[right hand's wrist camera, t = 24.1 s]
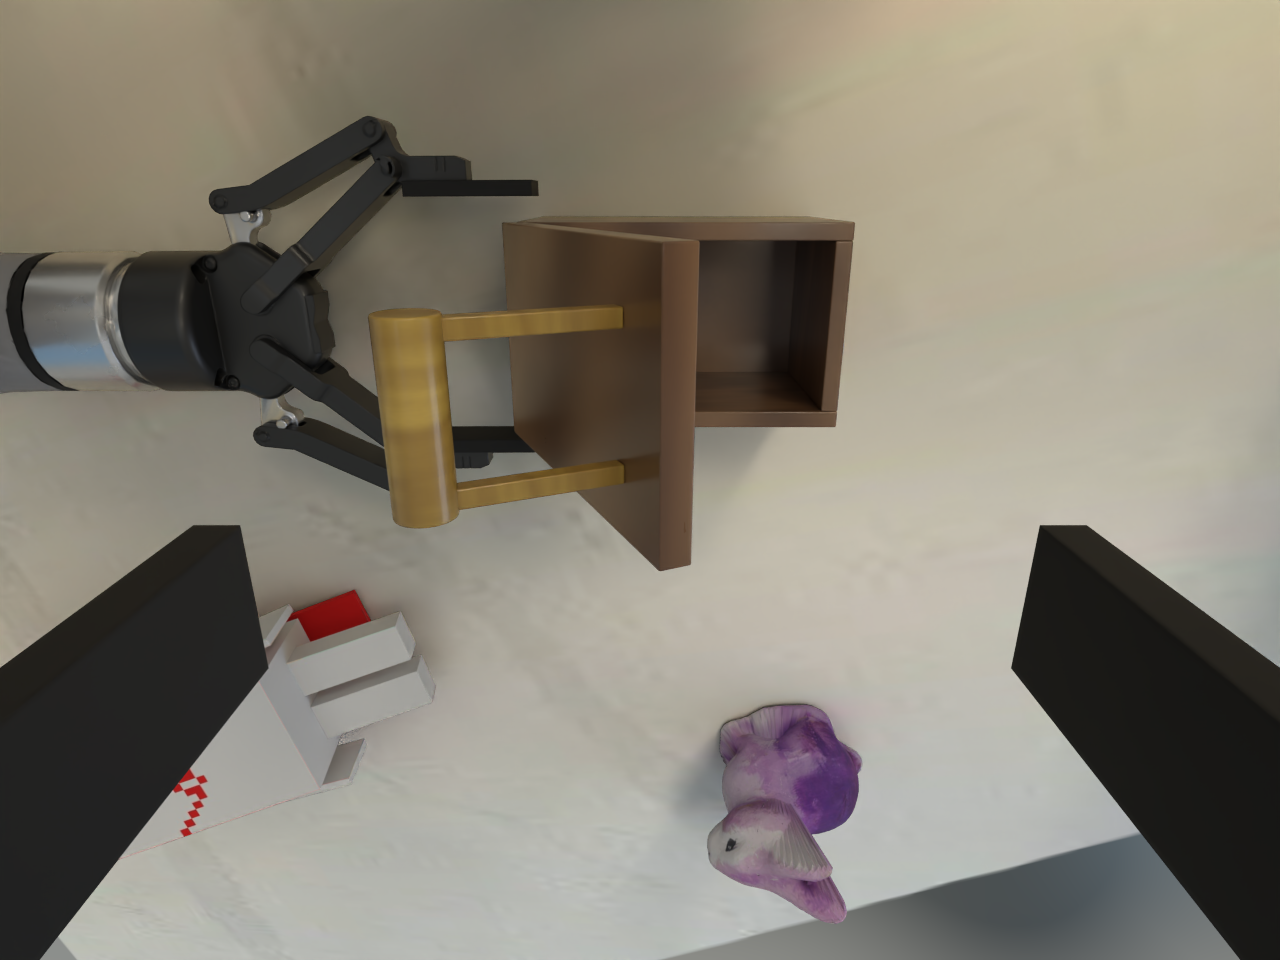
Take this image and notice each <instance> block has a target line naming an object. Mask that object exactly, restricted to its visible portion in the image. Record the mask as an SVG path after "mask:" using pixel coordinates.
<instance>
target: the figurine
mask: <svg viewBox="0 0 1280 960" xmlns="http://www.w3.org/2000/svg"><path fill="white" fill-rule="evenodd" d="M720 738H721V740H720V741H721V742H720V744H721V745H720V753H721V757H722V758H723V761H724V762H725V763H726V764H727V766H726V768H725V770H724V773H723V779H722V792H723V797H724V800H725V804H726V807H727V810H728V815H727V816H726V817H725V818H724V819H723V820H722V821H721V822H720V823H718V824H717V825H716V826H715V827H714V828H713V829H712V831H711V832H710V833H709V836H708V842H707V848H708V853H709V860H710V863H711V864H712V866H713V867H714V868H715V869H717V870H719V871H720V872H722V873H723V874H725V875H726V876H728V877H730V878H731V879H733V880H735V881H737V882H739V883H742V884H744V885H748V886H752V887H757V888H761V889H765V890H769V891H771V892H774V893H775V894H777V895H779V896H781V897H782V898H784V899H786V900H787V901H789V902H791V903H792V904H794V905H795V906H796V907H798V908H799V909H801V910H803V911H805V912H806V913H808V914H810V915H811V916H813V917H815V918H817V919H819V920H820V921H824V922H827V923H834V924H837V923H840V922H842V921H843V920H844V919H845V917H846V913H847V910H846V906H845V902H844V900H843V898H842V896H841V895H840V893H839V891H838V889H837V887H836V886H835V884H834V882H833V880H832V879H831V877H830V875H831V873H832V869H833V868H832V866H831V864H830V863H829V861H828V860H827V858H826V857H825V855H824V853H823V852H822V850H821V849H820V847H819V846H818V844H817V843H816V841H815V839H814V838H813V836H812V835H811V834H819V833H823V832H826V831H830V830H832V829H834V828H836V827H838V826H840V825H842V824H843V823H844V822H846V820H847V819H848V818H849V817H850V815H851V814H852V812H853V810H854V808H855V805H856V801H857V797H858V792H859V783H858V775H857V774H858V772H859V771H860V770H861V768H862V759H861V756H860V755H859V754H858V753H857V752H856V751H855V750H853V749H851V748H849V747H847V746H846V745H844V744H843V743H841V742H840V741H838V740H837V738H836V736H835V734H834V731H833V728H832V725H831V722H830V720H829V718H828V716H827V715H826V714H825V713H824V712H823V711H822V710H820V709H818V708H816V707H813V706H810V705H781V706H772V707H767V708H765V707H763V708H762V709H760V710H758V711H756V712H754V713H752V714H751V715H749V716H748V717H744V718H742V719H737V720H733V721H730V722H728V723H726V724H724V725H723V728H722V729H721V737H720Z"/></svg>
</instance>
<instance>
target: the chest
mask: <svg viewBox="0 0 1280 960" xmlns="http://www.w3.org/2000/svg"><path fill="white" fill-rule="evenodd" d="M520 222H527V223H537V224H546V225H556V226H565V227H575V228H584V229H594V230H603V231H613V232H622V233H632V234H641V235H651V236H661V237H670V238H680V239H689V240H698V241H699V243H700V244H699V281H698V319H697V356H696V393H695V427H835V426H836V418H837V412H836V411H837V407H838V396H839V386H840V375H841V364H842V354H843V343H844V333H845V322H846V311H847V301H848V290H849V280H850V269H851V259H852V248H853V241H852V240H853V238H854V228H855V223H854V222H848V221H840V220H832V219H824V218H816V217H640V216H543V217H538V218H534V219H529V220H524V221H520Z"/></svg>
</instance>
